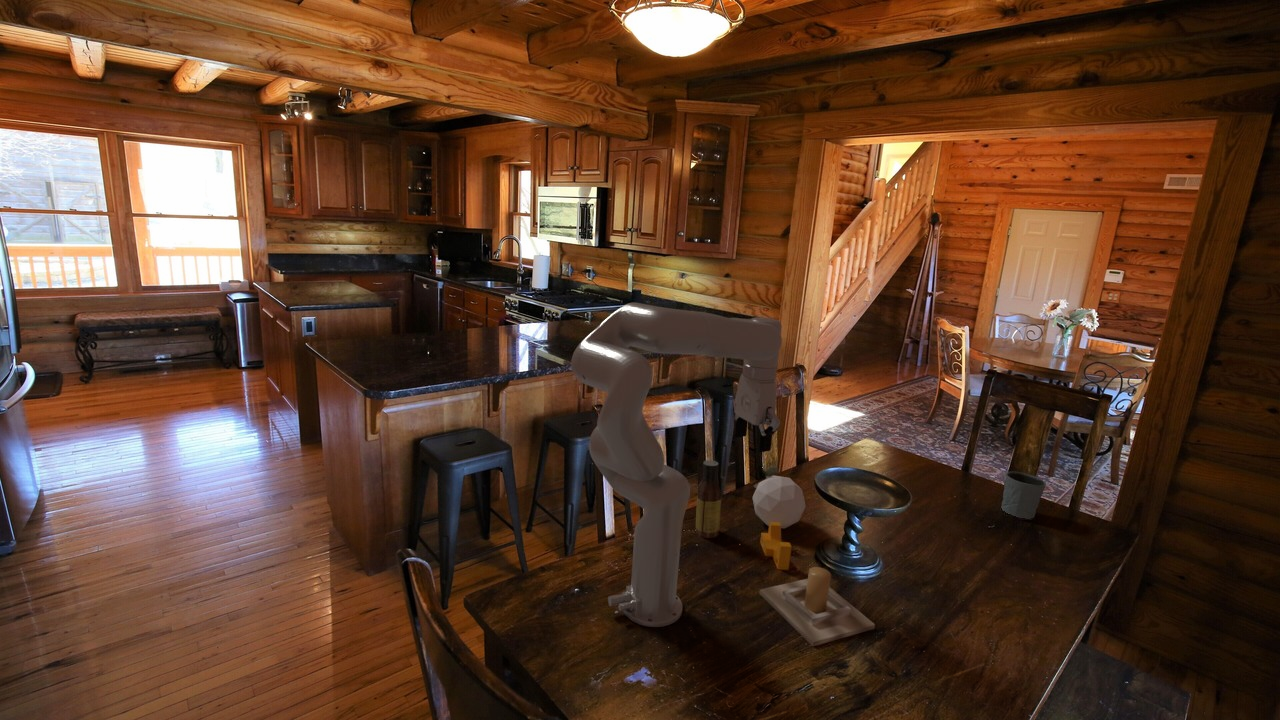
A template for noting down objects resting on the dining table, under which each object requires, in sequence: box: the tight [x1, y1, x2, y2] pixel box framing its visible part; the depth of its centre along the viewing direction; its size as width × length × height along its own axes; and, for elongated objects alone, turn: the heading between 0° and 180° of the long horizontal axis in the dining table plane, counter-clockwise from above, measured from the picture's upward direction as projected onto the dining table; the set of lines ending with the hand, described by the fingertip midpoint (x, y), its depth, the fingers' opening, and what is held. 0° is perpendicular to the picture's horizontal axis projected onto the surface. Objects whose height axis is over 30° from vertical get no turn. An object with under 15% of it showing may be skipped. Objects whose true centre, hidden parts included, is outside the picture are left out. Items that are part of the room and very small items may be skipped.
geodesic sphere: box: [752, 475, 807, 529], centre depth 162 cm, size 15×14×14 cm
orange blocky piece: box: [759, 522, 792, 571], centre depth 147 cm, size 12×4×6 cm, turn 0°
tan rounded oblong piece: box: [804, 566, 832, 613], centre depth 126 cm, size 4×4×8 cm
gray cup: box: [1000, 471, 1047, 519], centre depth 178 cm, size 10×10×12 cm
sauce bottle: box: [695, 459, 722, 539], centre depth 154 cm, size 7×6×20 cm
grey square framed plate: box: [759, 578, 876, 647], centre depth 127 cm, size 16×18×3 cm
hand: (751, 443), depth 138 cm, fingers open, 9 cm apart
